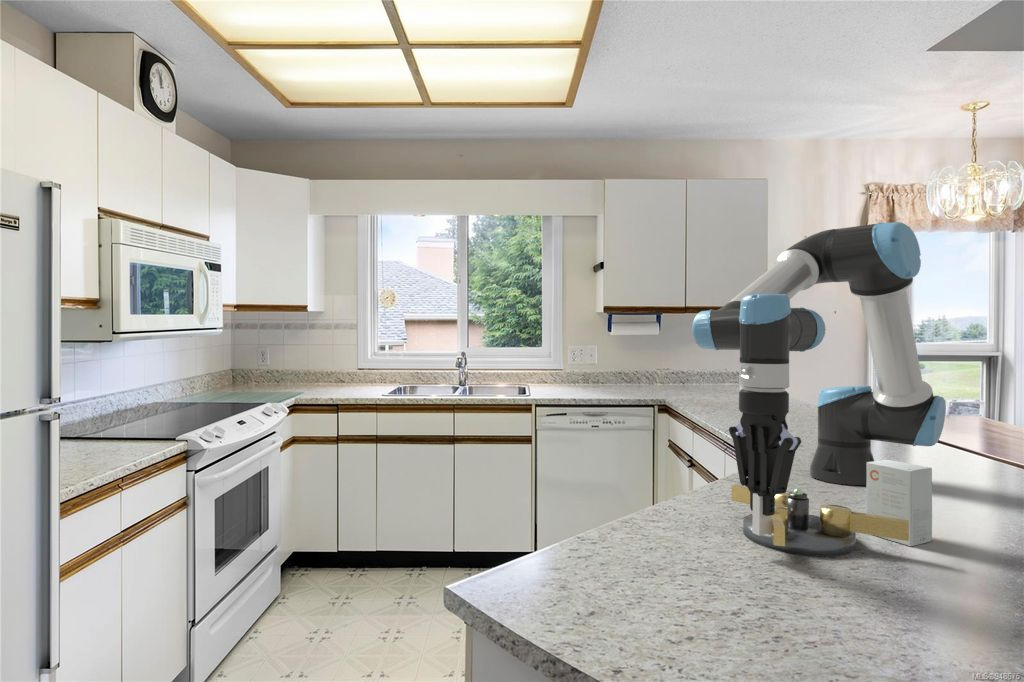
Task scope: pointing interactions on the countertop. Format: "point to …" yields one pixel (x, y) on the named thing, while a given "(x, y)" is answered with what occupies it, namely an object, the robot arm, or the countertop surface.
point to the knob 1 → (743, 495)
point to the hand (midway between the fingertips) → (761, 532)
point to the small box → (901, 496)
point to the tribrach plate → (803, 532)
